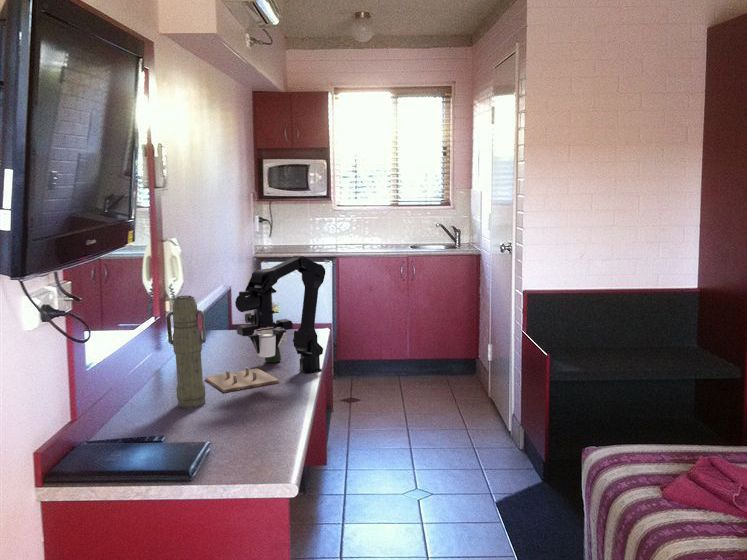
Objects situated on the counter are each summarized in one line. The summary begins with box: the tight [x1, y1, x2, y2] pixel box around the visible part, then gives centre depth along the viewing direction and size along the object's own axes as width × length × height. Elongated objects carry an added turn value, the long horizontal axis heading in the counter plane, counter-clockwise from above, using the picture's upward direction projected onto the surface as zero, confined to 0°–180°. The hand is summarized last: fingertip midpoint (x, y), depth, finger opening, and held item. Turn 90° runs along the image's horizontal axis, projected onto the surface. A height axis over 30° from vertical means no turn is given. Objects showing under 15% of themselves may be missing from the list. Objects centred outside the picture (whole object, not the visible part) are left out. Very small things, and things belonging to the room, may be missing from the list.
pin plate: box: [204, 367, 280, 393], centre depth 277 cm, size 20×20×4 cm
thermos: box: [165, 295, 207, 409], centre depth 250 cm, size 9×12×35 cm
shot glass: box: [258, 333, 276, 358], centre depth 270 cm, size 7×7×7 cm
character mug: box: [257, 329, 287, 363], centre depth 302 cm, size 11×7×13 cm, turn 92°
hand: (266, 351), depth 270 cm, fingers closed on shot glass, 6 cm apart
